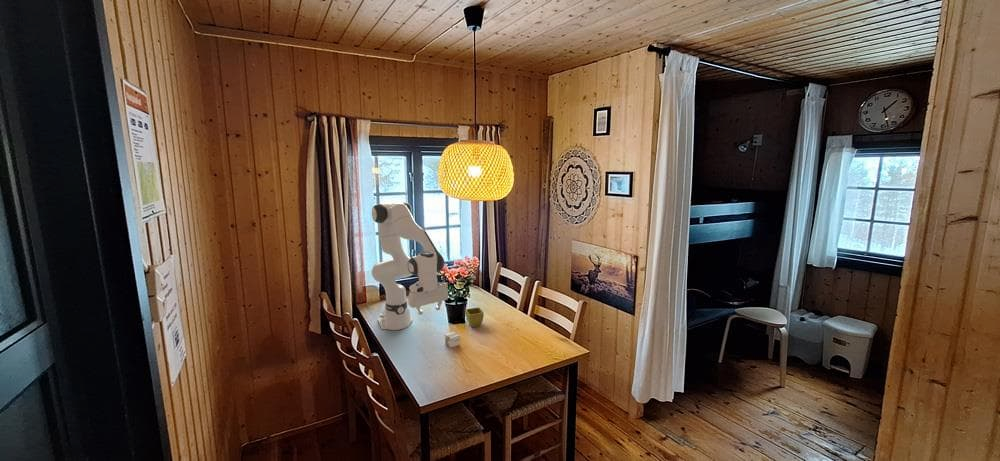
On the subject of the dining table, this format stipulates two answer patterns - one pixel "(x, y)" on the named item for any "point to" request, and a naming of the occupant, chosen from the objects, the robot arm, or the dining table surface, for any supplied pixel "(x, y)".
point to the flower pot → (474, 316)
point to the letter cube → (452, 339)
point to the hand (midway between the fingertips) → (429, 311)
